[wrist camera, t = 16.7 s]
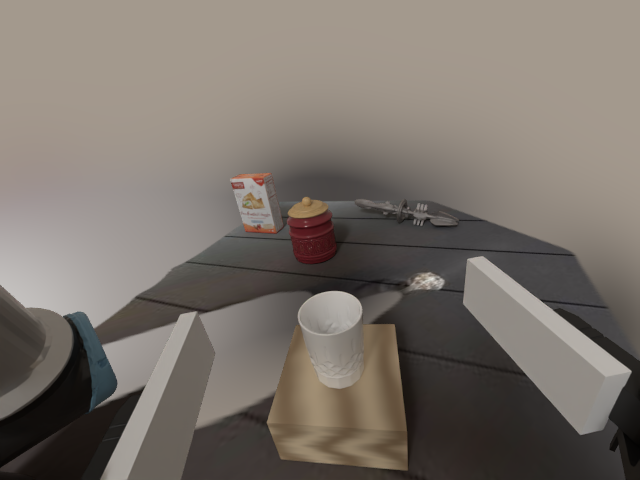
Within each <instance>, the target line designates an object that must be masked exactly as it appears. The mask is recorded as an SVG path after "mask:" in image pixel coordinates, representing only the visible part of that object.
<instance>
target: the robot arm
mask: <svg viewBox="0 0 640 480" xmlns="http://www.w3.org/2000/svg"><path fill="white" fill-rule="evenodd" d="M463 304H464V305H465V306H466V307H467V309H468V310H469V311H470V312H471V313H472V314H473V315H474V316H475V318H476V319H477V320H478V321H479V322H480V323H481V324H482V325H483V327H484V328H485V329H486V330H487V331H488V332H489V333H490V334H491V335H492V337H493V338H494V339H495V340H496V341H497V342H498V343H499V344H500V346H501V347H502V348H503V349H504V350H505V351H506V352H507V353H508V355H509V356H510V357H511V358H512V359H513V360H514V361H515V362H516V364H517V365H518V366H519V367H520V368H521V369H522V370H523V371H524V372H525V374H526V375H527V376H528V377H529V378H530V379H531V380H532V381H533V383H534V384H535V385H536V386H537V387H538V388H539V389H540V390H541V392H542V393H543V394H544V395H545V396H546V397H547V398H548V399H549V400H550V402H551V403H552V404H553V405H554V406H555V407H556V408H557V409H558V411H559V412H560V413H561V414H562V415H563V416H564V417H565V418H566V420H567V421H568V422H569V423H570V424H571V425H572V426H573V427H574V428H575V430H576V431H577V432H578V433H579V434H580V435H582V434H587V433H591V432H596V431H600V430H603V429H604V427H605V425H606V423H607V421H608V419H610V420H611V421H612V422H614V423H615V424H616V425H617V426H618V427H619V428H618V430H617V432H616V434H615V436H614V438H613V439H612V441H611V443H610V450H611V451H614V452H615V450H616V448H617V446H618V444H619V448H620V453H621V458H622V463H623V468H624V473H625V478H626V480H640V361H639V360H637V359H636V358H634V357H633V356H632V355H630V354H629V353H627V352H626V351H625V350H623V349H622V348H621V347H619V346H618V345H616V344H615V343H614V342H612V341H611V340H610V339H608V338H607V337H604V336H603V334H601V333H600V332H599V331H597V330H596V329H593V328H592V327H591V326H590V325H589V324H588V323H586V322H585V321H583V320H582V319H581V318H579V317H578V316H576V315H574V314H572V313H569V312H567V311H565V310H563V309H561V308H559V309H554V310H552V309H550V308H549V307H548V306H547V305H545V304H544V303H543V302H541V301H540V300H539V299H537V298H536V297H535V296H534V295H532V294H531V293H530V292H528V291H527V290H526V289H524V288H523V287H522V286H521V285H519V284H518V283H517V282H515V281H514V280H513V279H512V278H510V277H509V276H508V275H506V274H505V273H504V272H502V271H501V270H500V269H499V268H497V267H496V266H495V265H493V264H492V263H491V262H489V261H488V260H487V259H486V258H484V257H483V256H481V257H475V258H470V259H467V268H466V278H465V289H464V300H463ZM214 356H215V352H214V349H213V347H212V344H211V342H210V340H209V338H208V335H207V333H206V331H205V329H204V326H203V324H202V322H201V320H200V317H199V315H198V313H197V311H196V312H191V313H186V314H181V315H180V317H179V319H178V321H177V323H176V325H175V327H174V329H173V331H172V333H171V335H170V337H169V339H168V341H167V343H166V345H165V348H164V350H163V352H162V354H161V356H160V358H159V360H158V362H157V364H156V366H155V368H154V370H153V372H152V374H151V376H150V378H149V380H148V382H147V384H146V387H145V389H144V391H143V393H142V394H139V395H134V396H130V397H129V398H128V400H127V401H126V402H125V403H124V404H123V405H122V406H121V408H120V409H119V410H118V411H117V413H116V415H115V417H114V418H113V420H112V422H111V424H110V426H109V429H108V430H107V431H106V433H105V435H104V437H103V439H102V443H100V444H99V446H98V448H97V450H96V452H95V454H94V456H93V457H92V459H91V461H90V463H89V465H88V467H87V469H86V470H85V472H84V474H83V476H82V478H81V480H181V477H182V473H183V470H184V466H185V462H186V459H187V455H188V451H189V448H190V444H191V440H192V437H193V433H194V429H195V426H196V422H197V418H198V415H199V411H200V407H201V404H202V400H203V396H204V393H205V389H206V385H207V382H208V378H209V374H210V371H211V367H212V363H213V360H214ZM116 388H117V379H116V376H115V374H114V372H113V370H112V367H111V365H110V363H109V361H108V359H107V357H106V354H105V352H104V350H103V348H102V345H101V343H100V341H99V339H98V337H97V335H96V333H95V331H94V329H93V327H92V325H91V323H90V321H89V319H88V317H87V316H86V314H85V313H83V312H76V313H73V314H67V315H65V316H63V317H62V316H61V315H59V314H57V313H55V312H53V311H50V310H46V309H41V308H25V307H24V306H23V305H22V304H21V303H20V302H19V301H17V300H16V299H15V298H14V297H13V296H12V295H11V294H10V293H8V292H7V291H6V290H5V289H4V288H3V287H2V286H1V285H0V468H1V467H2V466H4V465H5V464H7V463H8V462H10V461H12V460H13V459H15V458H16V457H18V456H19V455H21V454H23V453H24V452H26V451H27V450H29V449H30V448H32V447H33V446H35V445H37V444H38V443H40V442H41V441H43V440H44V439H46V438H48V437H49V436H51V435H52V434H54V433H55V432H57V431H59V430H60V429H62V428H63V427H65V426H66V425H68V424H70V423H71V422H73V421H74V420H76V419H77V418H79V417H80V416H82V415H84V414H88V413H90V412H91V411H92V410H93V409H94V408H95V407H96V406H97V405H98V404H100V403H101V402H103V401H104V400H106V399H107V398H108V397H110V396H111V395H112V394H113V393H114V392H115V390H116ZM0 480H36V479H35V478H33V477H31V476H28V475H22V474H16V473H9V472H3V471H0Z"/></svg>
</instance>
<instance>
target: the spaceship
mask: <svg viewBox="0 0 640 480" xmlns="http://www.w3.org/2000/svg"><path fill="white" fill-rule="evenodd" d="M355 204H356V205H357V206H359V207H362V208H367V209H370V208H375V209H377V210H379V211H382V212H384V213H383V214H384V215H387V214H388V213H391V214H396V213H397V222H398V223H401V222H402V221H403V219H404V218H405V217H406V218H407V217H408V215H409V214H410V215H413V217H416V218H414V224H416V220H417V219H418V221H417V225H419V223H420V220H421V225H420V226H422V225H423V222H424V220H426V219H427V218H430V219H431V220H430V222H432V223H433V224H434V225H458V223H456V221H459V219H457V218H455V217H453V216H451V215H449V214H446V213H444V212H442V211H441V212H439V211H438V212H434V213H432V215H429V214H428V213H427V211H426V209H427V205H425V207H424V210H423V205H424V204H422V205H421V208H420V209H419V207H420V204H419V203H418V206H417V209H415V210H414V212H412V211H410V207H407V201H406V200H405V199H404V200H402V201H401V203H400V205H399V207H397V206H396V205H390V202H389V201H386V203H379V204H376V203H373V202H372V201H370V200H365V199H357V200H355ZM417 210H418V211H417ZM424 211H426V212H424ZM413 217H412V218H413ZM422 219H423V220H422Z"/></svg>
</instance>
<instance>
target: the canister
mask: <svg viewBox="0 0 640 480" xmlns="http://www.w3.org/2000/svg"><path fill="white" fill-rule="evenodd" d="M288 215H289V217H288V219H287V224H288V225H289V226H290V230H289V234H290V236H291V241H292V245H293V252H294V255H295V257H296V259H297V260H298V261H299V262H302V263H306V264H315V263H321V262H324V261H327V260H329V259H330V258H332V257H333V256H334V255H335V254H336V249H337V245H336V241H335V234H334V224H333V222H332V221H331V217H332V212H331V211H330V210H328V205H327V204H326V203H323V202H321V201H319V200H311V199H310V198H309V197H304V198H303V199H302V202H299V203H297V204H295V205H294V206H293V207H292V208H291V209H290V210H289V211H288Z"/></svg>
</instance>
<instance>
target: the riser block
mask: <svg viewBox="0 0 640 480" xmlns="http://www.w3.org/2000/svg"><path fill="white" fill-rule="evenodd" d="M363 332H364V354H363V359H364V370H363V373H362V375H361V377H360V379H359V380H358V381H357V382H355V383H354V384H353V385H352V386H349V387H346V388H342V389H336V388H329V387H327V386H326V385H324V384H323V383H321V382H320V381H319V379H318V377H317V375H316V373H315V370H314V367H313V364H312V362H311V359H310V356H309V353H308V350H307V348H306V344H305V341H304V337H303V334H302V331H301V327H300V325H296V327H295V331H294V334H293V337H292V341H291V344H290V347H289V351H288V354H287V358H286V361H285V364H284V367H283V371H282V374H281V377H280V381H279V384H278V387H277V391H276V394H275V397H274V401H273V404H272V407H271V411H270V414H269V417H268V421H267V424H268V427H269V430H270V432H271V435H272V437H273V440H274V442H275V445H276V448H277V450H278V453H279V455H280V458H281V459H283V460H295V461H306V462H317V463H328V464H339V465H351V466H362V467H373V468H384V469H395V470H407V471H408V452H407V427H406V418H405V410H404V401H403V393H402V384H401V375H400V367H399V358H398V350H397V341H396V332H395V324H363Z"/></svg>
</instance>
